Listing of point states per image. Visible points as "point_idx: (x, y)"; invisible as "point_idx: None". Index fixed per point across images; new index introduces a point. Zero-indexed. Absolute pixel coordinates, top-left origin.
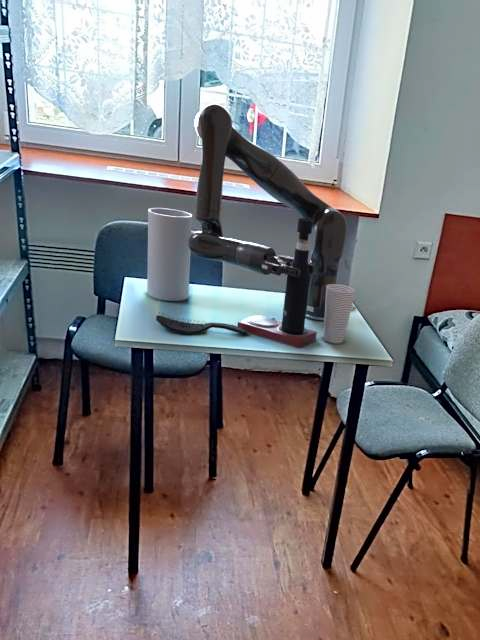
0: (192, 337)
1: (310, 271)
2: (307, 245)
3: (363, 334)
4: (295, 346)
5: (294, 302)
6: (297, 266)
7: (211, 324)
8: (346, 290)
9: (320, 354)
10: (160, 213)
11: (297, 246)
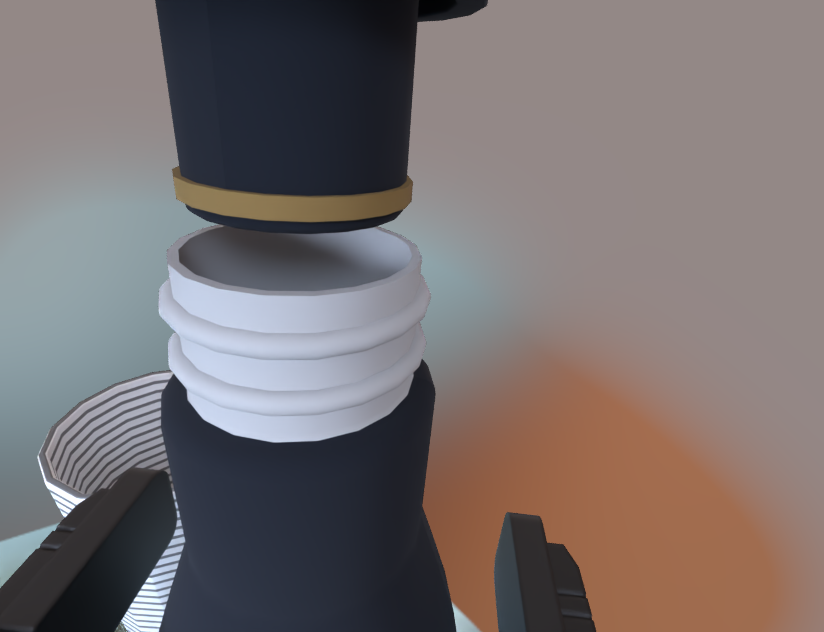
0: None
1: (160, 539)
2: (349, 244)
3: (39, 542)
4: None
5: None
6: (437, 560)
7: None
8: (88, 429)
9: (457, 616)
10: None
11: (396, 368)
